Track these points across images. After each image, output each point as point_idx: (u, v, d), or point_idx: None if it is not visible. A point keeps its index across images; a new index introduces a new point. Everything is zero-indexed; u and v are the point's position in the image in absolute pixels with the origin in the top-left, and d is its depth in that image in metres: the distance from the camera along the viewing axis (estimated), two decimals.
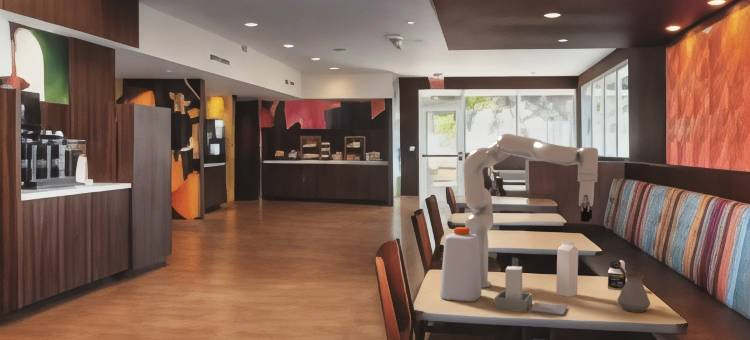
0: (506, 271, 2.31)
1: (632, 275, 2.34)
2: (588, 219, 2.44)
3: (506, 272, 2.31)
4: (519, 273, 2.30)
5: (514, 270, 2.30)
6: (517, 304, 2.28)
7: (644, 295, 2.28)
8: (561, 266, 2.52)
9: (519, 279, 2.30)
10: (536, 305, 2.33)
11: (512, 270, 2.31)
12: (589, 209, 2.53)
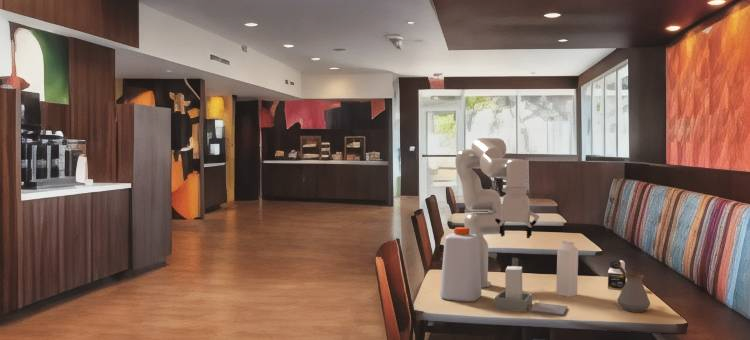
0: (506, 271, 2.31)
1: (632, 275, 2.34)
2: None
3: (506, 272, 2.31)
4: (519, 273, 2.30)
5: (514, 270, 2.30)
6: (517, 304, 2.28)
7: (644, 295, 2.28)
8: (561, 266, 2.52)
9: (519, 279, 2.30)
10: (536, 305, 2.33)
11: (512, 270, 2.31)
12: (503, 225, 2.36)
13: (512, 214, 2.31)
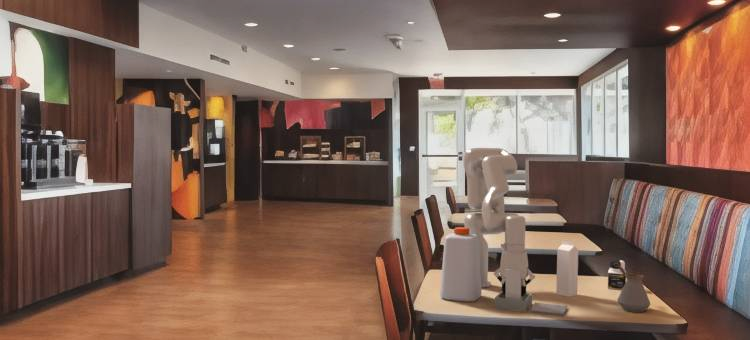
0: (506, 271, 2.31)
1: (632, 275, 2.34)
2: None
3: (506, 272, 2.31)
4: (519, 273, 2.30)
5: (514, 270, 2.30)
6: (517, 304, 2.28)
7: (644, 295, 2.28)
8: (561, 266, 2.52)
9: (519, 279, 2.30)
10: (536, 305, 2.33)
11: (512, 270, 2.31)
12: (505, 283, 2.36)
13: None
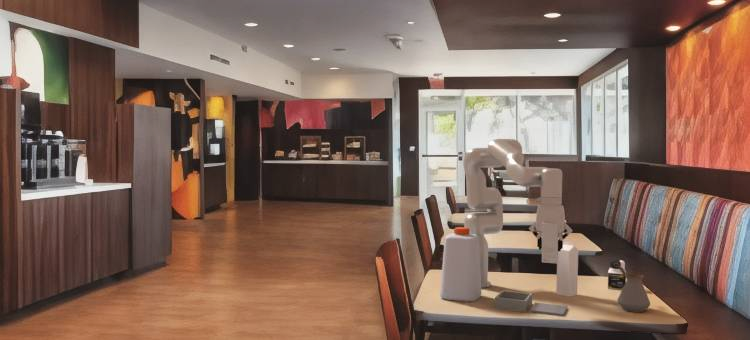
0: (543, 225, 2.25)
1: (632, 275, 2.34)
2: None
3: (543, 226, 2.25)
4: (556, 227, 2.24)
5: (551, 224, 2.24)
6: (517, 304, 2.28)
7: (644, 295, 2.28)
8: (561, 266, 2.52)
9: (556, 233, 2.24)
10: (536, 305, 2.33)
11: (548, 223, 2.24)
12: (541, 238, 2.30)
13: None
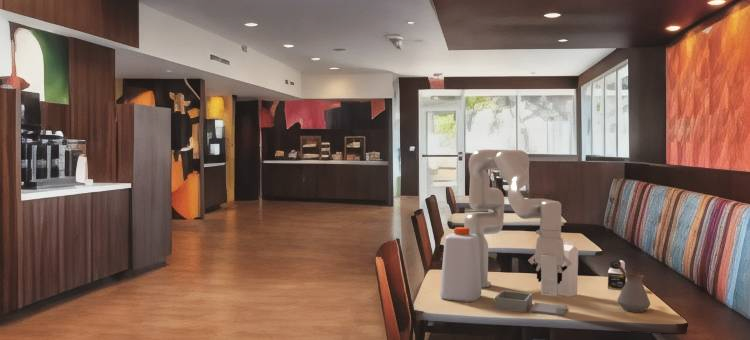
0: (542, 257, 2.26)
1: (632, 275, 2.34)
2: None
3: (542, 258, 2.26)
4: (555, 260, 2.24)
5: (550, 256, 2.25)
6: (517, 304, 2.28)
7: (644, 295, 2.28)
8: None
9: (555, 265, 2.24)
10: (536, 305, 2.33)
11: (548, 256, 2.25)
12: (540, 270, 2.31)
13: None
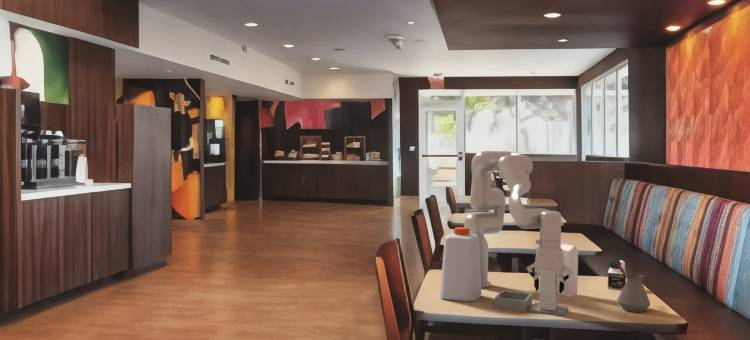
0: (540, 272, 2.26)
1: (632, 275, 2.34)
2: None
3: (540, 273, 2.26)
4: (553, 274, 2.25)
5: (549, 271, 2.25)
6: (517, 304, 2.28)
7: (644, 295, 2.28)
8: None
9: (554, 280, 2.25)
10: (536, 305, 2.33)
11: (546, 271, 2.25)
12: (538, 279, 2.31)
13: (546, 267, 2.26)
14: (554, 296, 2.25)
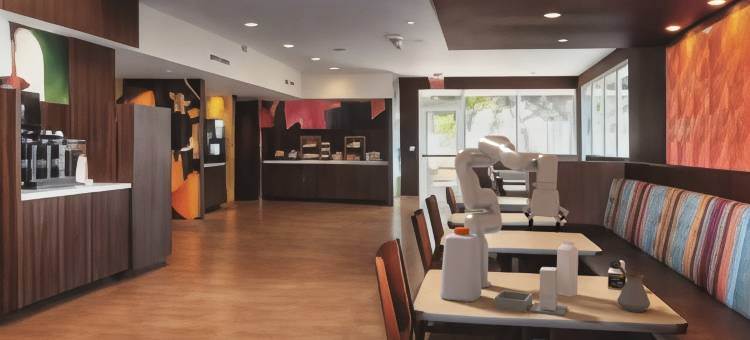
0: (540, 272, 2.26)
1: (632, 275, 2.34)
2: None
3: (540, 273, 2.26)
4: (553, 274, 2.25)
5: (549, 271, 2.25)
6: (517, 304, 2.28)
7: (644, 295, 2.28)
8: (561, 266, 2.52)
9: (554, 280, 2.25)
10: (536, 305, 2.33)
11: (546, 271, 2.26)
12: (532, 219, 2.38)
13: (542, 208, 2.33)
14: (554, 296, 2.25)
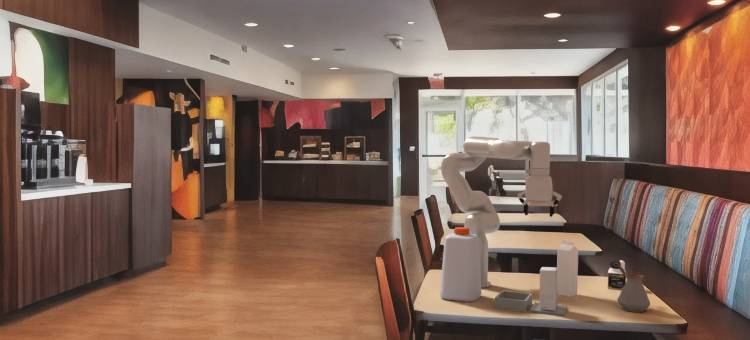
0: (540, 272, 2.26)
1: (632, 275, 2.34)
2: None
3: (540, 273, 2.26)
4: (553, 274, 2.25)
5: (549, 271, 2.25)
6: (517, 304, 2.28)
7: (644, 295, 2.28)
8: (561, 266, 2.52)
9: (554, 280, 2.25)
10: (536, 305, 2.33)
11: (546, 271, 2.26)
12: (527, 205, 2.48)
13: (536, 194, 2.43)
14: (554, 296, 2.25)
